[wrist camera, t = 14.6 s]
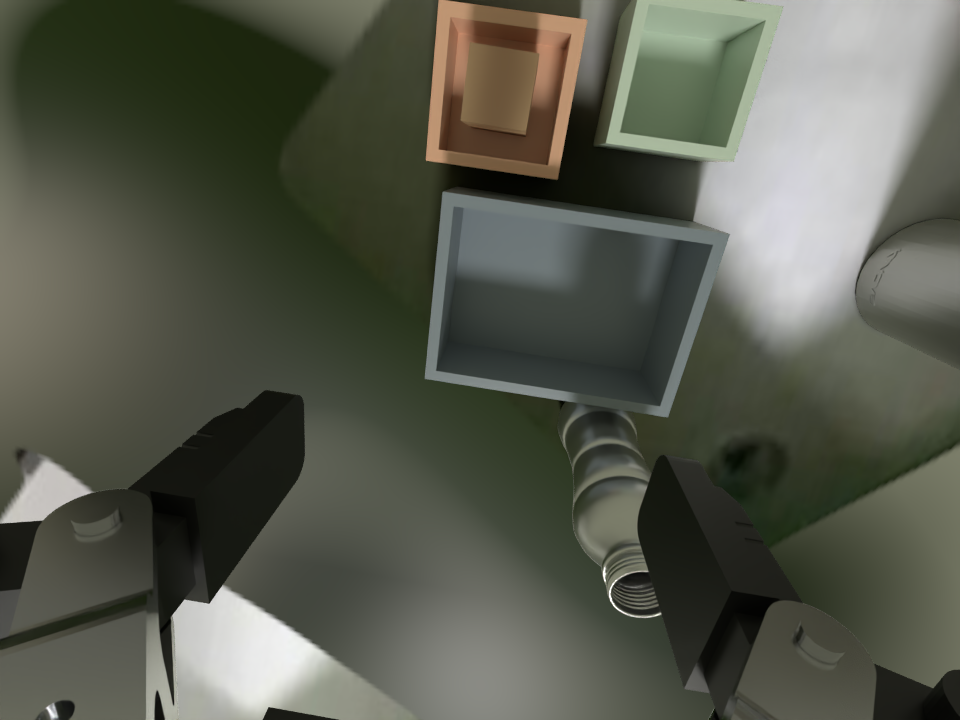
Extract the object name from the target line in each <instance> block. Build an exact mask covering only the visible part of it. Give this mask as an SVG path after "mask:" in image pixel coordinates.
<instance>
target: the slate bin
mask: <svg viewBox="0 0 960 720" xmlns="http://www.w3.org/2000/svg"><path fill="white" fill-rule="evenodd" d="M729 235H730V234H728V233H725V232H722V231H719V230H716V229H714V228H711V227H708V226H705V225H702V224H699V223H696V222H693V221H687V220H680V219H673V218H666V217H660V216H653V215H646V214H639V213H633V212H626V211H619V210H612V209H606V208H599V207H592V206H585V205H579V204H572V203H565V202H558V201H551V200H545V199H538V198H531V197H524V196H518V195H511V194H504V193H497V192H491V191H484V190H477V189H470V188H464V187H454V188H451V189H449V190H446V191H443V195H442V205H441V215H440V226H439V236H438V247H437V257H436V267H435V278H434V288H433V299H432V309H431V319H430V330H429V340H428V352H427V362H426V372H425V379H430V380H436V381H443V382H449V383H455V384H461V385H468V386H474V387H480V388H487V389H493V390H499V391H505V392H512V393H518V394H524V395H530V396H537V397H543V398H549V399H556V400H562V401H568V402H574V403H581V404H587V405H593V406H600V407H606V408H612V409H618V410H625V411H631V412H637V413H644V414H650V415H656V416H662V417H668V415H669V412H670V409H671V406H672V403H673V400H674V397H675V394H676V392H677V389H678V386H679V383H680V380H681V377H682V374H683V371H684V368H685V365H686V362H687V359H688V356H689V353H690V350H691V347H692V344H693V341H694V338H695V335H696V332H697V329H698V327H699V324H700V321H701V318H702V315H703V312H704V309H705V306H706V303H707V300H708V297H709V294H710V291H711V288H712V285H713V282H714V279H715V276H716V273H717V270H718V267H719V264H720V262H721V259H722V256H723V253H724V250H725V247H726V244H727V241H728V238H729Z"/></svg>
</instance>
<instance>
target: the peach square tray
mask: <svg viewBox="0 0 960 720" xmlns="http://www.w3.org/2000/svg"><path fill="white" fill-rule="evenodd" d="M586 25H587V20H586V19H578V18H571V17H564V16H556V15H549V14H542V13H535V12H527V11H520V10H513V9H505V8H498V7H491V6H483V5H476V4H469V3H462V2H454V1H447V0H439V4H438V16H437V28H436V41H435V53H434V66H433V78H432V90H431V103H430V115H429V128H428V140H427V153H426V161H433V162H440V163H446V164H453V165H460V166H467V167H474V168H480V169H487V170H494V171H501V172H508V173H515V174H521V175H528V176H535V177H542V178H549V179H556V180H558V175H559V169H560V164H561V159H562V153H563V148H564V143H565V137H566V132H567V127H568V121H569V116H570V111H571V105H572V100H573V94H574V89H575V84H576V78H577V73H578V68H579V62H580V57H581V52H582V46H583V41H584V36H585V30H586ZM470 42H472V43H478V44H484V45H490V46H496V47H502V48H509V49H515V50H521V51H527V52H533V53H539V61H538V68H537V75H536V81H535V86H534V92H533V98H532V104H531V109H530V115H529V121H528V126H527V132H526V137H522V136H516V135H510V134H504V133H499V132H493V131H487V130H481V129H475V128H471V127H470V126H468V125H467V124H465V123H464V122H462V121H461V112H462V104H463V95H464V87H465V79H466V71H467V63H468V55H469V47H470Z"/></svg>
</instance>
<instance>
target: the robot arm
mask: <svg viewBox="0 0 960 720" xmlns="http://www.w3.org/2000/svg"><path fill="white" fill-rule="evenodd" d="M856 301H857V307H858V309H859V312H860V314H861V316H862V317H863V319H864V320H865V321H866V322H867V323H868V324H869V325H870V326H871V327H873V328H874V329H876V330H877V331H880V332H882V333H884V334H886V335H888V336H890V337H892V338H894V339H896V340H899V341H901V342H903V343H905V344H907V345H909V346H911V347H913V348H915V349H917V350H919V351H921V352H923V353H925V354H927V355H930V356H932V357H934V358H936V359H938V360H940V361H942V362H944V363H946V364H948V365H951V366H953V367H955V368H957V369H959V370H960V220H952V219H932V220H928V221H924V222H920V223H916V224H914V225H912V226H909V227H907V228H905V229H903V230H901V231H899V232H898V233H896V234H895V235H893V236H891V237H890V238H889V239H887V240H886V241H885V242H884V243H883V244H882V245H881V246H879V247H878V248H877V250H876V251H875V252H874V253H873V254H872V255H871V257H870V258H869V259H868V261H867V262H866V264H865V266H864V268H863V269H862V271H861V274H860V277H859V280H858V283H857V289H856ZM304 437H305V435H304V403H303V399H302V397H301V396H300V395H294V394H289V393H282V392H276V391H270V390H265V391H263V392H262V393H261V394H260V395H259V396H258V397H256V398H255V399H254V400H253V401H252V402H250V403H249V404H248V405H247V406H246V407H245V408H244V409H242V408H235V409H233V410H231V411H229V412H226V413H224V414H222V415H219V416H217V417H215V418H213V419H212V420H211V421H209V422H208V423H207V424H206V425H205V426H203V427H202V428H201V429H200V430H199V431H197V434H196V435H193V436H191V437H190V438H189V439H188V440H186V441H185V442H184V443H183V445H182V447H178V448H177V449H175V450H174V451H173V452H172V453H171V454H169V455H168V456H167V457H166V458H165V459H163V460H162V461H161V462H160V463H158V464H157V465H156V466H155V467H154V468H152V469H151V470H150V471H149V472H148V473H147V474H145V475H144V476H143V477H141V478H140V479H139V480H138V481H137V482H135V483H134V484H133V485H132V486H131V487H129V488H128V489H109V490H103V491H98V492H94V493H90V494H87V495H84V496H81V497H79V498H76V499H74V500H72V501H70V502H68V503H66V504H64V505H62V506H61V507H59V508H57V509H56V510H54V511H53V512H52V513H51V514H49V515H48V516H47V517H46V518H45V519H44V520H43V521H32V522H17V523H3V524H0V720H179V715H178V695H177V675H176V655H175V635H174V622H173V617H172V615H173V613H174V612H175V611H176V610H177V608H178V607H179V606H180V604H181V603H182V602H183V601H184V599H185V600H191V601H197V602H203V603H208V604H209V603H210V602H211V600H212V599H213V598H214V596H215V595H216V593H217V592H218V591H219V589H220V588H221V586H222V585H223V584H224V582H225V581H226V579H227V578H228V577H229V575H230V574H231V572H232V571H233V570H234V568H235V567H236V565H237V564H238V562H239V561H240V560H241V558H242V557H243V556H244V554H245V553H246V551H247V550H248V549H249V547H250V546H251V544H252V543H253V542H254V540H255V539H256V537H257V536H258V534H259V533H260V532H261V530H262V529H263V528H264V526H265V525H266V523H267V522H268V520H269V519H270V518H271V516H272V515H273V513H274V512H275V511H276V509H277V508H278V507H279V505H280V504H281V502H282V501H283V499H284V498H285V497H286V495H287V494H288V492H289V491H290V490H291V488H292V487H293V485H294V484H295V483H296V481H297V480H298V477H299V476H300V473H301V470H302V467H303V463H304V456H305V438H304ZM637 532H638V538H639V542H640V545H641V549H642V552H643V555H644V558H645V562H646V565H647V568H648V572H649V575H650V578H651V581H652V585H653V588H654V591H655V595H656V598H657V601H658V604H659V608H660V611H661V614H662V617H663V620H664V624H665V627H666V631H667V634H668V637H669V640H670V644H671V647H672V650H673V653H674V657H675V660H676V663H677V667H678V670H679V673H680V677H681V680H682V683H683V686H684V689H689V690H694V691H700V692H706V693H710V695H711V698H712V700H713V703H714V706H715V708H714V710H713V712H712V713H711V715H710V717H709V719H708V720H960V670H952V671H949V672H947V673H946V674H945V675H944V676H943V677H942V678H941V680H940V681H939V682H938V683H937V685H936V686H935V687H934V688H931V687H928V686H926V685H923V684H921V683H919V682H916V681H914V680H912V679H909V678H907V677H904V676H902V675H900V674H897V673H895V672H892V671H890V670H888V669H885V668H883V667H881V666H878V665H876V664H874V663H873V661H872V659H871V657H870V655H869V653H868V652H867V651H866V649H865V648H864V646H863V645H862V644H861V643H860V642H859V640H858V639H857V638H856V637H855V636H854V635H853V634H852V633H851V632H850V631H849V630H848V629H846V628H845V627H844V626H842V625H841V624H840V623H839V622H837V621H836V620H835V619H833V618H832V617H830V616H829V615H827V614H825V613H824V612H822V611H820V610H817V609H816V608H813V607H811V606H809V605H806V604H803V602H802V601H801V599H800V598H799V596H798V594H797V593H796V591H795V590H794V588H793V587H792V585H791V583H790V582H789V580H788V579H787V577H786V575H785V574H784V572H783V571H782V569H781V568H780V566H779V564H778V563H777V561H776V560H775V558H774V557H773V555H772V554H771V552H770V550H769V549H768V547H767V545H764V544H763V542H764V541H763V539H762V538H761V536H760V534H759V533H758V531H757V530H756V529H755V528H753V523H752V522H751V520H750V519H749V517H748V515H747V514H746V512H745V511H744V509H743V508H742V506H741V505H740V504H739V503H738V502H737V501H736V500H734V499H733V498H732V497H731V496H730V495H729V494H728V493H727V492H726V491H724V490H723V489H722V488H721V487H715V486H713V484H712V482H711V481H710V479H709V477H708V475H707V474H706V472H705V470H704V469H703V467H702V465H701V464H700V462H698V461H697V460H692V459H686V458H680V457H673V456H667V455H661V456H659V457H658V459H657V461H656V463H655V465H654V468H653V471H652V474H651V477H650V480H649V483H648V486H647V489H646V492H645V495H644V498H643V500H642V503H641V506H640V509H639V514H638V521H637ZM263 720H337V719H332V718H326V717H320V716H315V715H309V714H304V713H298V712H293V711H287V710H282V709H276V708H270V707H268V710H267V712H266V714H265V716H264V718H263Z"/></svg>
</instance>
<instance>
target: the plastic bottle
mask: <svg viewBox="0 0 960 720" xmlns="http://www.w3.org/2000/svg"><path fill="white" fill-rule="evenodd" d="M558 432H559V435H560V438H561V440H562V443H563V445H564V447H565V449H566V451H567V452H568V456H569V459H570V462H571V465H572V470H573V480H574V498H573V528H574V532H575V535H576V538H577V539H578V541H579V543H580V545H581V546H582V548H583V550H584V551H585V552H586V554H587V555H588V556H589V557H590V558H591V559H593V560H594V561H595V562H596V563H597V564H598V565H600V566H601V567H602V575H603V579H604V582H605V584H606V586H607V593H608V597H609V599H610V602H611V603H612V604H613V606H614V607H615V608H616V609H617V610H618V611H620V612H622V613H623V614H626V615H628V616H632V617H637V618H650V617H655V616H659V615H661V611H660V608H659V604H658V601H657V598H656V595H655V591H654V588H653V585H652V581H651V578H650V575H649V572H648V568H647V565H646V562H645V558H644V555H643V552H642V549H641V545H640V542H639V538H638V532H637V521H638V514H639V509H640V506H641V503H642V500H643V498H644V495H645V492H646V489H647V486H648V483H649V480H650V477H651V473H650V471H649V469H648V467H647V465H646V463H645V461H644V459H643V457H642V455H641V452H640V448H639V445H638V441H637V429H636V424H635V419H634V416H633V413H632V412H631V411H625V410H618V409H612V408H606V407H600V406H593V405H587V404H581V403H574V402H568V401H565V403H564V404H563V406H562V408H561V410H560V414H559V420H558Z"/></svg>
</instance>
